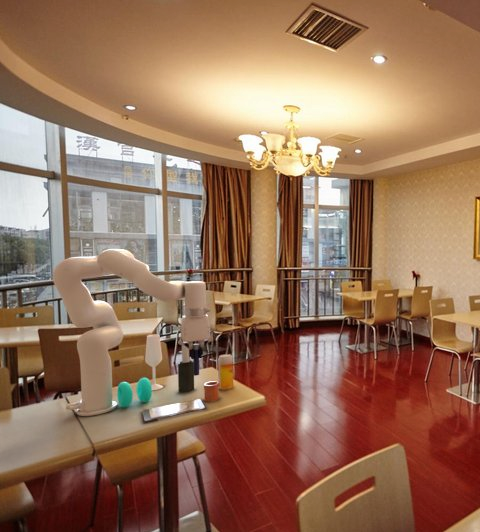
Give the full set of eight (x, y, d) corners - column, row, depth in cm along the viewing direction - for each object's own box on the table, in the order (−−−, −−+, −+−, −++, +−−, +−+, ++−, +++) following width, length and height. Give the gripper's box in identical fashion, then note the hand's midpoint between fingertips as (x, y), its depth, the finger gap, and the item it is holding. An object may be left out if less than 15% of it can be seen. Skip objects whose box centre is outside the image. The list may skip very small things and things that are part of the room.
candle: (188, 393, 169) (187, 336, 168) (177, 393, 169) (176, 336, 168) (195, 389, 174) (194, 334, 173) (184, 389, 174) (183, 334, 173)
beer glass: (235, 388, 176) (235, 355, 176) (221, 391, 172) (221, 358, 171) (229, 385, 180) (229, 353, 180) (216, 388, 176) (215, 355, 175)
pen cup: (205, 403, 158) (205, 386, 158) (203, 399, 163) (203, 382, 163) (220, 400, 162) (219, 383, 161) (217, 396, 166) (217, 380, 166)
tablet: (144, 423, 140) (144, 420, 140) (142, 412, 150) (142, 409, 150) (205, 410, 152) (205, 407, 152) (200, 400, 161) (200, 398, 161)
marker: (194, 375, 155) (193, 345, 154) (193, 374, 156) (192, 344, 156) (199, 375, 156) (199, 344, 155) (198, 373, 158) (198, 343, 157)
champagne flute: (146, 386, 178) (145, 334, 177) (163, 384, 181) (162, 333, 180) (144, 391, 172) (143, 337, 171) (162, 388, 175) (161, 336, 174)
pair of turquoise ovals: (116, 404, 157) (116, 380, 156) (145, 397, 164) (144, 374, 164) (123, 411, 150) (123, 385, 150) (153, 403, 158) (152, 379, 157)
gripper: (215, 309, 163) (215, 353, 164) (171, 312, 153) (171, 359, 154) (219, 311, 157) (219, 356, 158) (174, 315, 147) (174, 363, 148)
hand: (196, 357), depth 156 cm, fingers closed on marker, 2 cm apart
